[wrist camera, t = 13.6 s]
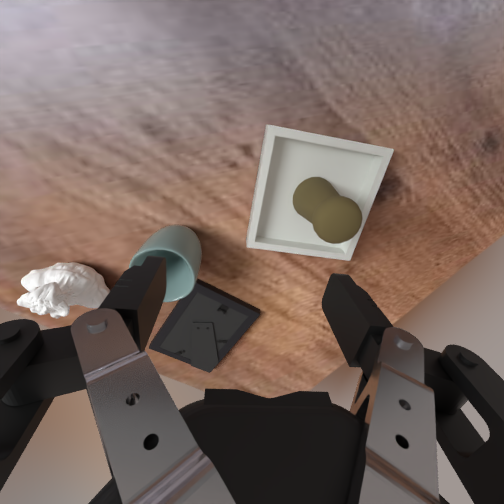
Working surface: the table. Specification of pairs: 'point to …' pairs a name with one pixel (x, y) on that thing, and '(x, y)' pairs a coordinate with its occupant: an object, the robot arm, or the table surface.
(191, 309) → the picture frame
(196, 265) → the cup
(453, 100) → the table surface
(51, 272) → the bust
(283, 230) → the tray
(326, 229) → the olive rounded piece
